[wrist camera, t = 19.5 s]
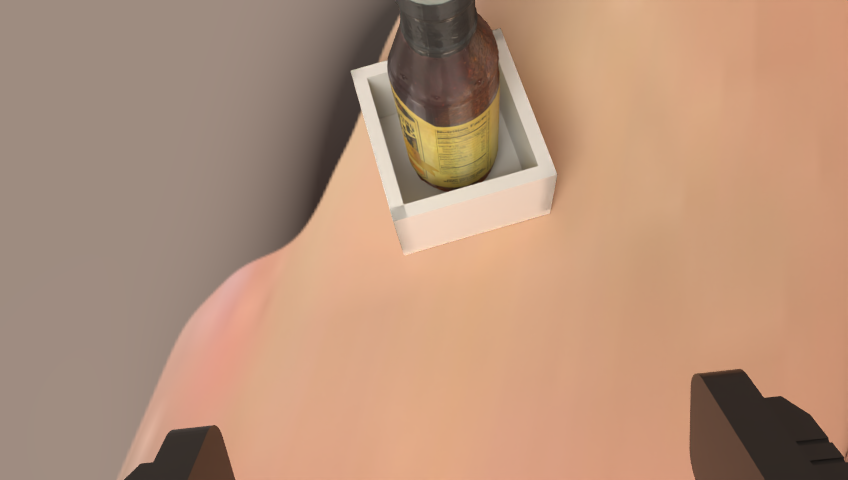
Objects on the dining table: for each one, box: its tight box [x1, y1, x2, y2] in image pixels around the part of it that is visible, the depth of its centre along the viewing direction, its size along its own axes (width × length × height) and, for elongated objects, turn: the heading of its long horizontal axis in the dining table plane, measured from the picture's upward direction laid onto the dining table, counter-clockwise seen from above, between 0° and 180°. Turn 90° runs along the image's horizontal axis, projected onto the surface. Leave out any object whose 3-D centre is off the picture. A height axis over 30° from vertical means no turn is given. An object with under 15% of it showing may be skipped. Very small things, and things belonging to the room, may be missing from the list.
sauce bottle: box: [387, 0, 500, 192], centre depth 42 cm, size 7×6×20 cm
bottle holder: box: [351, 28, 557, 255], centre depth 49 cm, size 10×11×6 cm
